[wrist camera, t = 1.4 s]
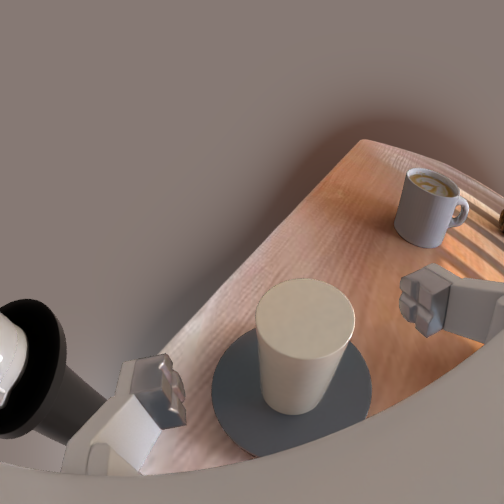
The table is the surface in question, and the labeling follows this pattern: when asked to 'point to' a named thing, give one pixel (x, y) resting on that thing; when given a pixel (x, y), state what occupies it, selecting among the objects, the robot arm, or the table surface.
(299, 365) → the cream canister
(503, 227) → the stone weight
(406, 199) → the coffee mug
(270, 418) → the slate plate
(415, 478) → the robot arm
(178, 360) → the table surface
